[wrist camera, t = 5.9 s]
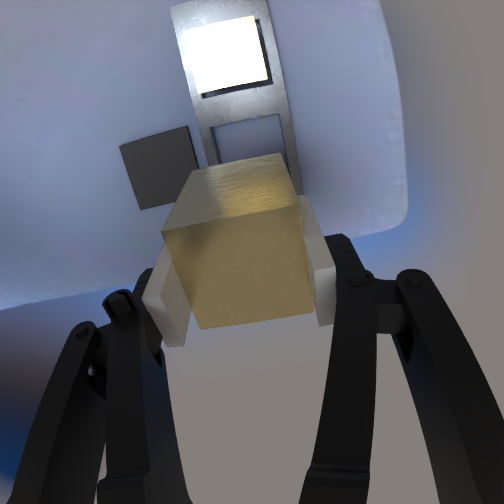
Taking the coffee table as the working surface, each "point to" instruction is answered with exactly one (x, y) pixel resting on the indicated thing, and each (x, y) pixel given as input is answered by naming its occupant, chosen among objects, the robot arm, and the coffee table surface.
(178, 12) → the rail
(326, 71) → the coffee table surface
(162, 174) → the rubber pad
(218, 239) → the tan textured cube
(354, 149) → the coffee table surface
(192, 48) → the block
